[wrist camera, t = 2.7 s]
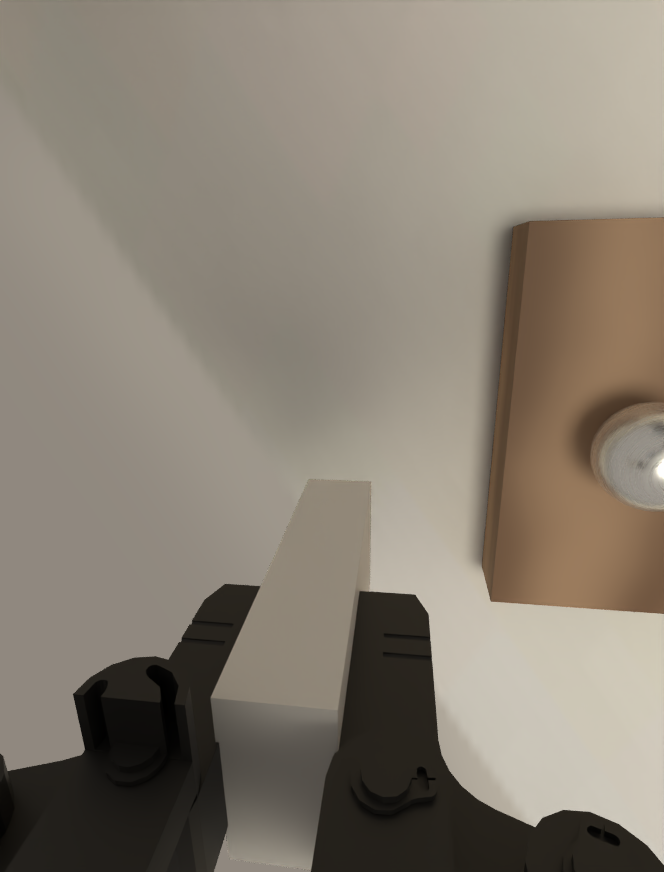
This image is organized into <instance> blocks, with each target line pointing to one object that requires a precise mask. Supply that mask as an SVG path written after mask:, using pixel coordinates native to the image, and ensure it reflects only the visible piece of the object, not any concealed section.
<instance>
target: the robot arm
mask: <svg viewBox="0 0 664 872" xmlns="http://www.w3.org/2000/svg"><path fill="white" fill-rule="evenodd" d="M370 539H371V482H368V481H342V480H316V479H309V480H308V482H307V484H306V486H305V489H304V491H303V493H302V495H301V498H300V500H299V502H298V504H297V506H296V509H295V511H294V513H293V515H292V518H291V520H290V522H289V524H288V526H287V529H286V531H285V533H284V535H283V538H282V540H281V542H280V544H279V547H278V549H277V551H276V553H275V556H274V558H273V560H272V562H271V564H270V567H269V569H268V571H267V573H266V575H265V578H264V580H263V582H262V584H261V586H249V585H233V584H225V585H223V586H222V587H221V588H219V589H218V590H217V591H215V592H214V593H213V594H212V595H210V596H209V597H208V598H206V599H205V600H204V602H203V603H202V605H201V607H200V608H199V610H198V612H197V613H196V615H195V617H194V618H193V620H192V624H191V625H189V626H188V628H187V630H186V631H185V633H184V635H183V637H182V641H181V642H179V643H178V645H177V647H176V648H175V650H174V651H173V653H172V655H171V656H170V658H169V660H167V659H163V658H159V657H156V656H155V657H139V658H132V659H129V660H126V661H122V662H120V663H116V664H113V665H111V666H109V667H107V668H106V669H104V670H102V671H100V672H99V673H97V674H95V675H93V676H92V677H90V678H89V679H88V680H87V681H86V682H85V683H84V684H83V685H82V686H81V687H80V688H79V689H78V690H77V691H76V692H75V693H74V694H73V696H74V700H75V705H76V710H77V714H78V719H79V723H80V728H81V732H82V737H83V742H84V746H85V751H84V753H83V754H82V755H81V756H77V757H73V758H70V759H66V760H63V761H58V762H53V763H48V764H42V765H37V766H32V767H27V768H22V769H17V770H11V771H7V768H6V765H5V761H4V758H3V756H2V755H1V754H0V872H214V869H215V866H216V863H217V859H218V856H219V853H220V850H221V847H222V844H223V840H224V837H225V834H226V839H227V848H228V857H229V859H233V860H240V861H247V862H255V863H261V864H269V865H276V866H283V867H290V868H297V869H304V870H311V872H664V865H663V864H662V863H661V861H660V860H659V859H658V858H657V857H656V855H655V854H654V853H653V852H652V851H651V850H650V848H649V847H648V846H647V845H646V844H644V843H643V842H642V841H640V840H639V839H638V838H636V837H635V836H634V835H632V834H631V833H630V832H628V831H627V830H626V829H624V828H623V827H622V826H620V825H619V824H617V823H615V822H612V821H610V820H608V819H605V818H603V817H600V816H598V815H596V814H593V813H591V812H583V811H570V810H562V811H560V812H557V813H554V814H552V815H549V816H546V817H544V818H542V819H541V821H540V822H539V823H538V825H537V826H536V827H533V826H531V825H529V824H526V823H524V822H522V821H520V820H517V819H515V818H513V817H511V816H508V815H506V814H504V813H502V812H500V811H497V810H495V809H493V808H492V807H490V806H488V805H486V804H484V803H483V802H481V801H479V800H478V799H476V798H475V797H474V796H473V795H471V794H470V793H469V792H468V791H467V790H466V789H464V788H463V787H462V786H461V785H460V784H459V782H458V781H457V780H456V779H455V777H454V776H453V775H452V774H451V772H450V771H449V769H448V767H447V765H446V763H445V761H444V759H443V757H442V755H441V750H440V746H439V741H438V732H437V731H438V730H437V719H436V705H435V692H434V679H433V667H432V654H431V641H430V628H429V615H428V613H427V611H426V610H425V608H424V607H423V606H422V604H421V603H420V601H419V600H418V598H417V597H416V595H412V594H397V593H382V592H369V586H370Z"/></svg>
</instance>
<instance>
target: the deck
mask: <svg viewBox="0 0 664 872" xmlns="http://www.w3.org/2000/svg"><path fill="white" fill-rule="evenodd" d="M646 402H662V403H664V218H628V219H592V220H557V221H529V222H526V223H523V224H520V225H517V226H515V227H513V236H512V247H511V258H510V269H509V279H508V290H507V301H506V312H505V323H504V333H503V344H502V355H501V366H500V377H499V387H498V398H497V409H496V420H495V431H494V441H493V452H492V463H491V474H490V485H489V495H488V506H487V517H486V528H485V539H484V549H483V560H482V568H483V572H484V576H485V580H486V584H487V588H488V592H489V596H490V600H491V601H492V602H506V603H520V604H534V605H548V606H562V607H576V608H590V609H604V610H619V611H633V612H647V613H661V614H664V511H662V512H652V511H643V510H639V509H635V508H632V507H629V506H626V505H624V504H622V503H621V502H619V501H617V500H616V499H614V498H613V497H611V496H610V495H609V494H608V493H607V492H606V491H605V490H604V489H603V488H602V487H601V485H600V484H599V483H598V481H597V479H596V478H595V475H594V473H593V470H592V466H591V461H590V451H591V445H592V441H593V438H594V436H595V434H596V432H597V430H598V429H599V428H600V426H601V425H602V424H603V423H604V422H605V421H606V420H607V419H608V418H609V417H610V416H611V415H613V414H614V413H616V412H617V411H619V410H621V409H623V408H626V407H628V406H631V405H635V404H639V403H646Z"/></svg>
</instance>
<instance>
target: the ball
mask: <svg viewBox="0 0 664 872" xmlns="http://www.w3.org/2000/svg"><path fill="white" fill-rule="evenodd" d="M590 461H591V466H592V470H593V473H594V475H595V478H596V479H597V481H598V483H599V484H600V485H601V487H602V488H603V489H604V490H605V491H606V492H607V493H608V494H609V495H610V496H611V497H613V498H614V499H616V500H617V501H619V502H621V503H622V504H624V505H626V506H629V507H632V508H635V509H639V510H643V511H652V512H662V511H664V403H662V402H646V403H639V404H635V405H631V406H628V407H626V408H623V409H621V410H619V411H617V412H616V413H614V414H613V415H611V416H610V417H609V418H608V419H607V420H606V421H605V422H604V423H603V424H602V425H601V426H600V428H599V429H598V430H597V432H596V434H595V436H594V438H593V441H592V445H591V451H590Z"/></svg>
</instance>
